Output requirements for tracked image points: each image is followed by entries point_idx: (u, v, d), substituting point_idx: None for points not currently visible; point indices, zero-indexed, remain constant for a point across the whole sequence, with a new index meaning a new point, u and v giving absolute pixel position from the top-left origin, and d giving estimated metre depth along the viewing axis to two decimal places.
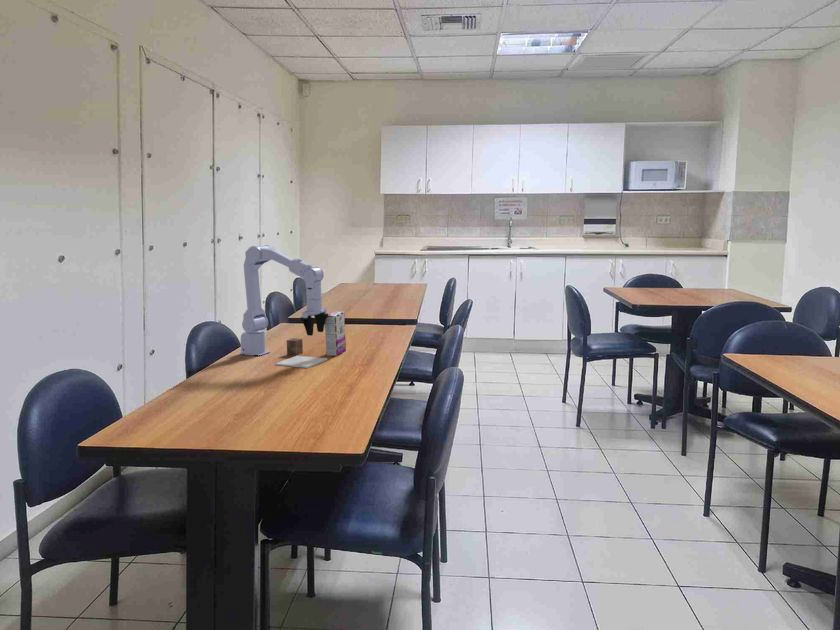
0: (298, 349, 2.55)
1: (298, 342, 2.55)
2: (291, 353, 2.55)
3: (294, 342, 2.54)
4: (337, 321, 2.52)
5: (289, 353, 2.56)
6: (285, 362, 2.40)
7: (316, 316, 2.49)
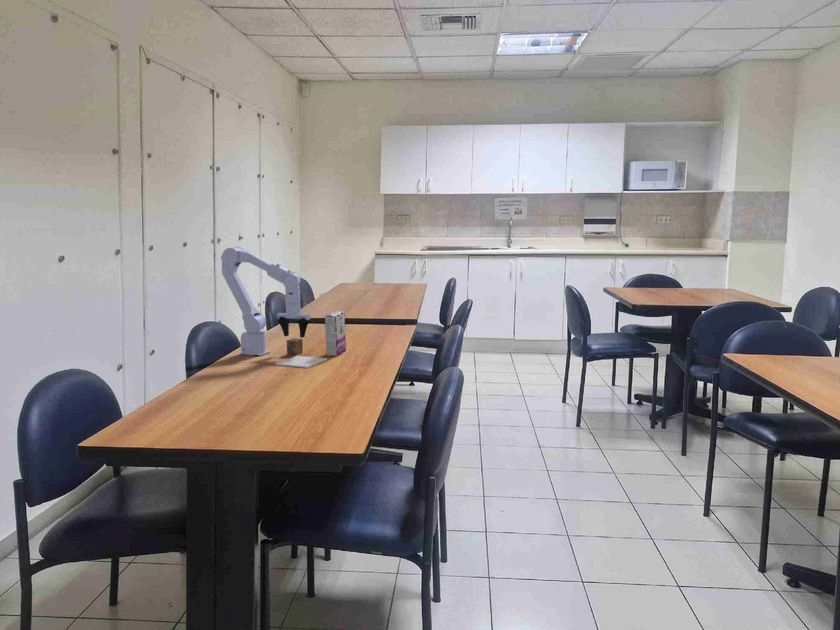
0: (298, 349, 2.55)
1: (298, 342, 2.55)
2: (291, 353, 2.55)
3: (294, 342, 2.54)
4: (337, 321, 2.52)
5: (289, 353, 2.56)
6: (285, 362, 2.40)
7: None
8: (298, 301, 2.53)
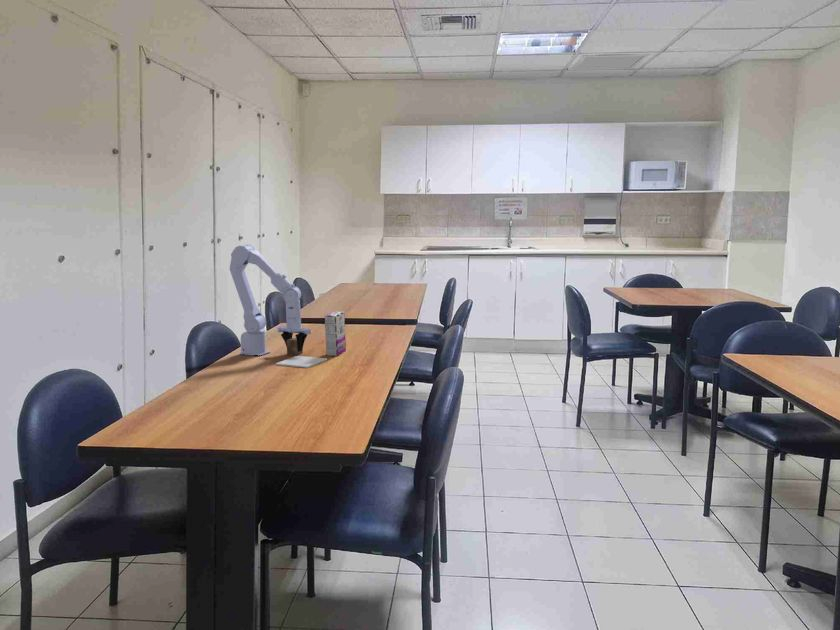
0: None
1: None
2: (291, 353, 2.55)
3: (294, 342, 2.54)
4: (337, 321, 2.52)
5: (289, 353, 2.56)
6: (285, 362, 2.40)
7: None
8: (299, 315, 2.54)
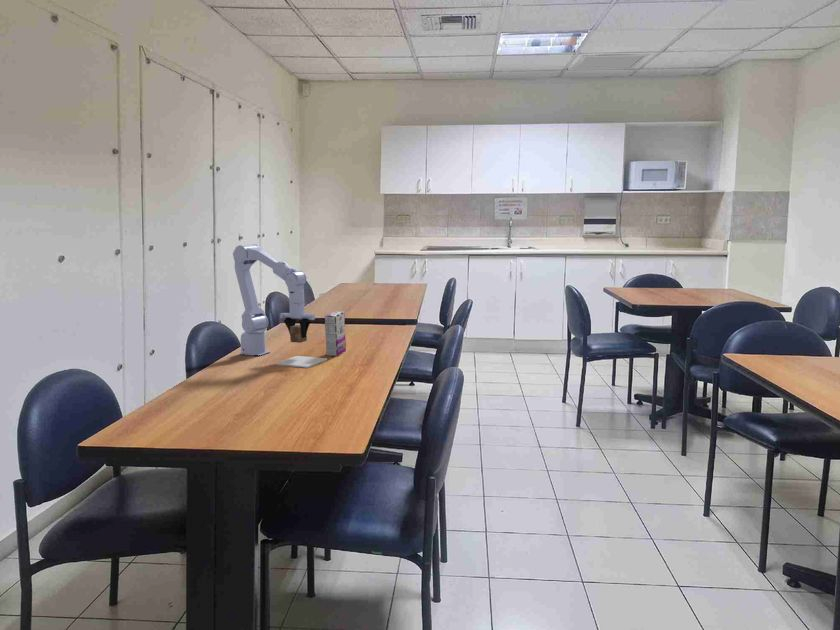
0: None
1: None
2: (295, 340, 2.46)
3: (298, 328, 2.45)
4: (337, 321, 2.52)
5: (293, 340, 2.46)
6: (285, 362, 2.40)
7: None
8: (300, 301, 2.43)
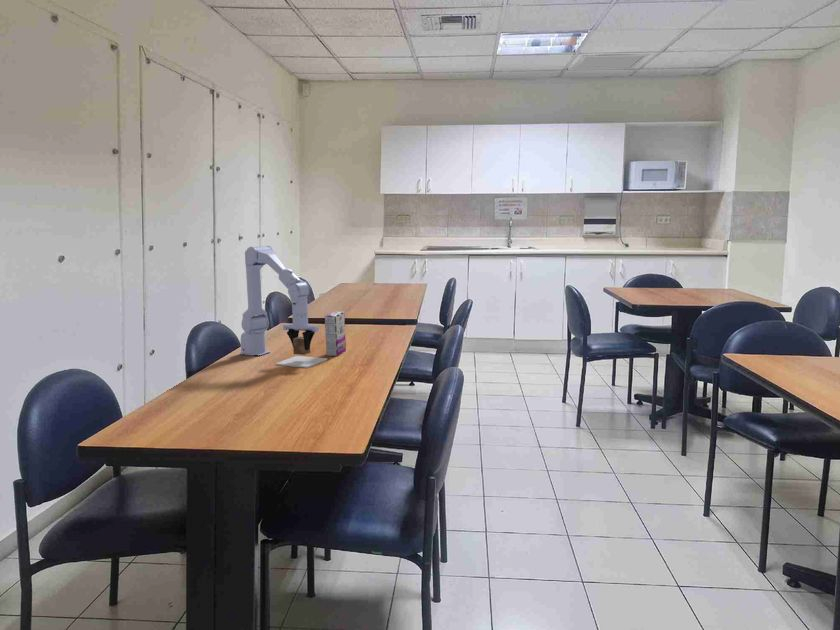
0: None
1: None
2: (298, 352, 2.40)
3: (301, 340, 2.39)
4: (337, 321, 2.52)
5: (296, 352, 2.40)
6: (285, 362, 2.40)
7: None
8: (302, 312, 2.37)
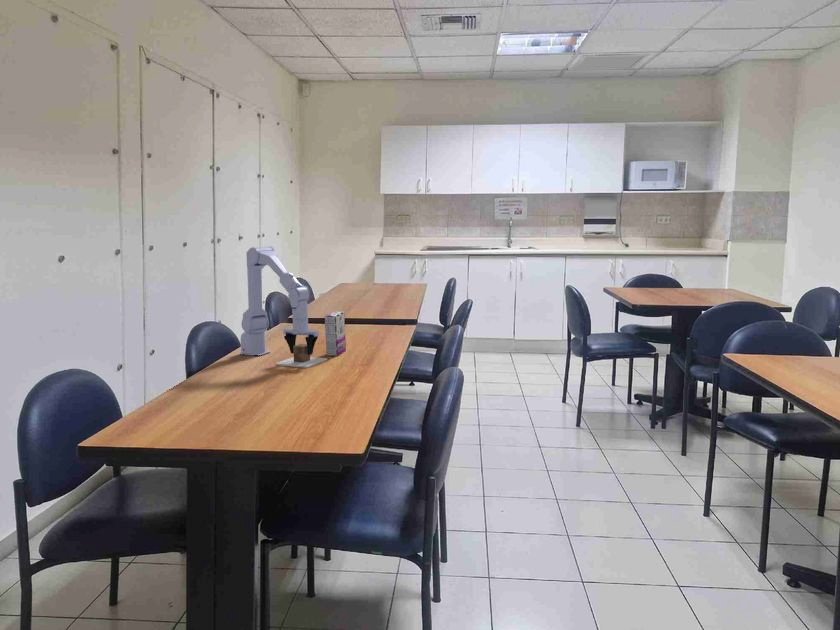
0: (305, 356, 2.40)
1: (305, 348, 2.40)
2: (298, 360, 2.40)
3: (301, 348, 2.39)
4: (337, 321, 2.52)
5: (296, 360, 2.41)
6: (285, 362, 2.40)
7: None
8: (302, 317, 2.37)
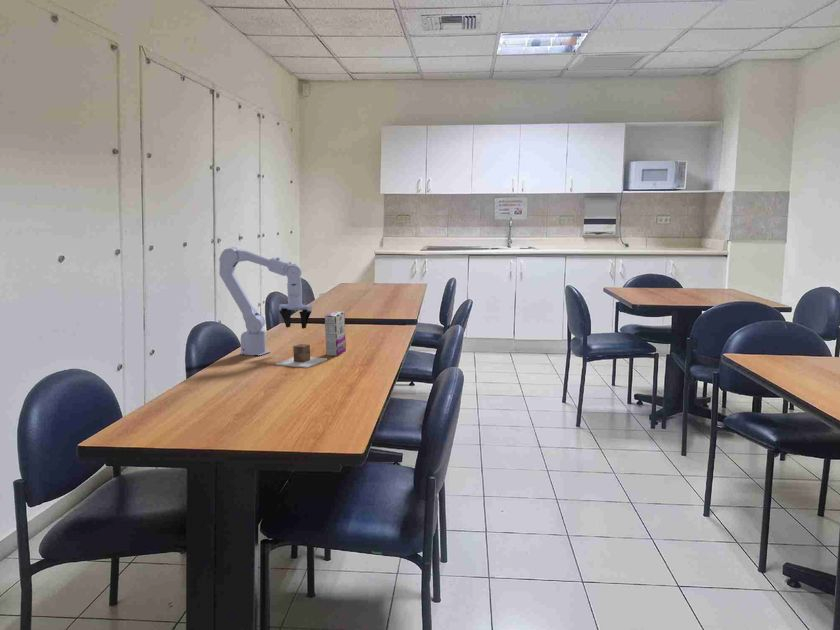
0: (305, 356, 2.40)
1: (305, 348, 2.40)
2: (298, 360, 2.40)
3: (301, 348, 2.39)
4: (337, 321, 2.52)
5: (296, 360, 2.41)
6: (285, 362, 2.40)
7: None
8: (300, 292, 2.55)
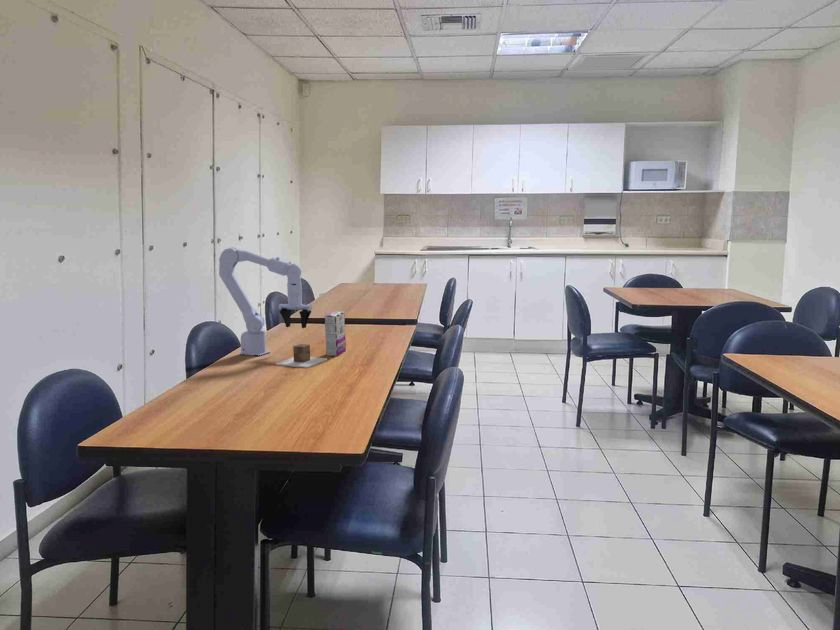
0: (305, 356, 2.40)
1: (305, 348, 2.40)
2: (298, 360, 2.40)
3: (301, 348, 2.39)
4: (337, 321, 2.52)
5: (296, 360, 2.41)
6: (285, 362, 2.40)
7: None
8: (300, 292, 2.56)
